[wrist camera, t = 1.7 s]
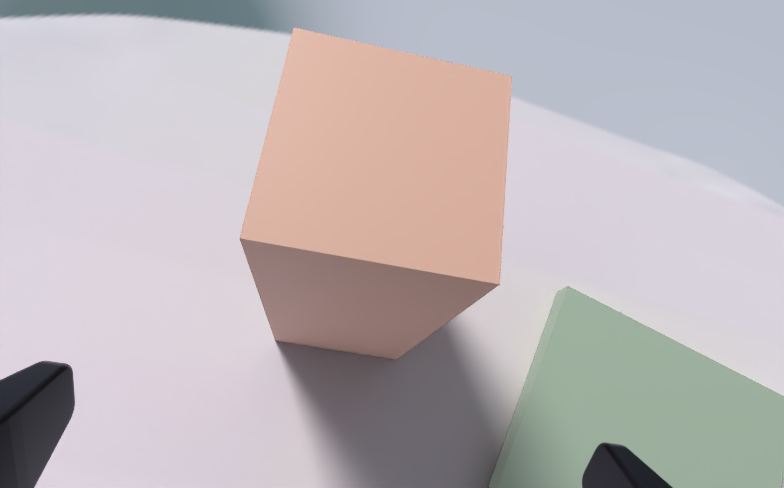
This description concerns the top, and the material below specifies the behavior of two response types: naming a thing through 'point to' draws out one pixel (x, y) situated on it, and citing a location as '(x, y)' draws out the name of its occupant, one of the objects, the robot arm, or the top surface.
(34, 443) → the robot arm
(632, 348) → the green square tile
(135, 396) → the top surface
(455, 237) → the terracotta column
